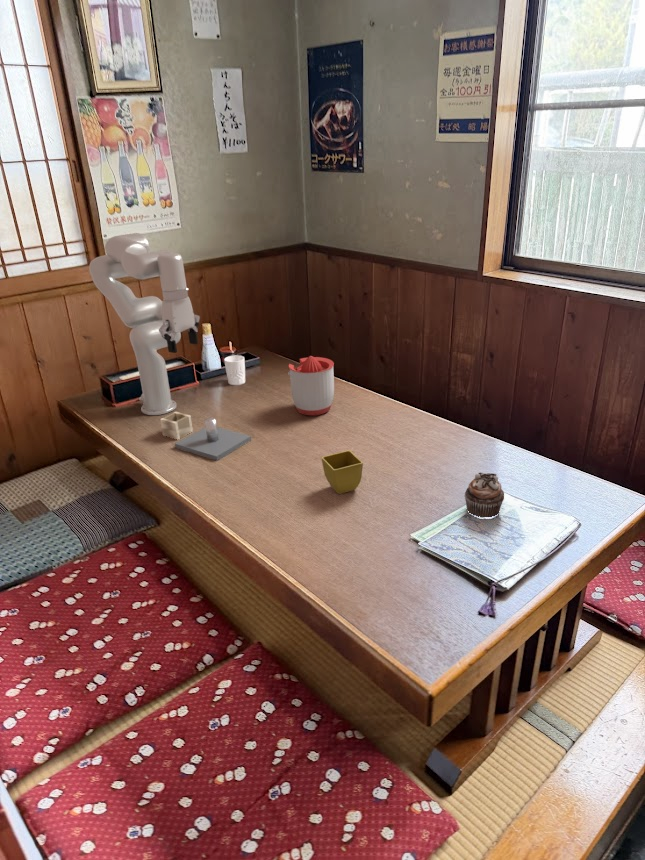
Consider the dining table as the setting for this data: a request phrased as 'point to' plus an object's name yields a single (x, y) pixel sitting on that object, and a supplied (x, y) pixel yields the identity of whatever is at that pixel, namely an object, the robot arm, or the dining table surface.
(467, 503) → the cupcake
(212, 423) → the grey cylinder
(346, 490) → the flower pot
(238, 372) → the white cup
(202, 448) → the grey board
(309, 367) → the citrus juicer
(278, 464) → the dining table surface
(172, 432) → the birch collar
